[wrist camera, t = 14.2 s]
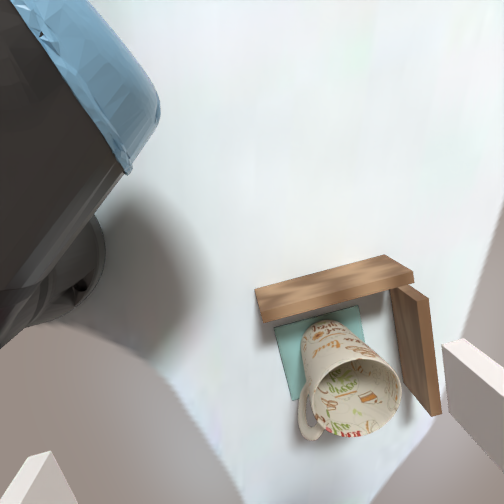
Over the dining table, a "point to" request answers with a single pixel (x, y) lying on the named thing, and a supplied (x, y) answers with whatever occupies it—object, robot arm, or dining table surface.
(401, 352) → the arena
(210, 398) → the dining table surface
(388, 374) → the mug
